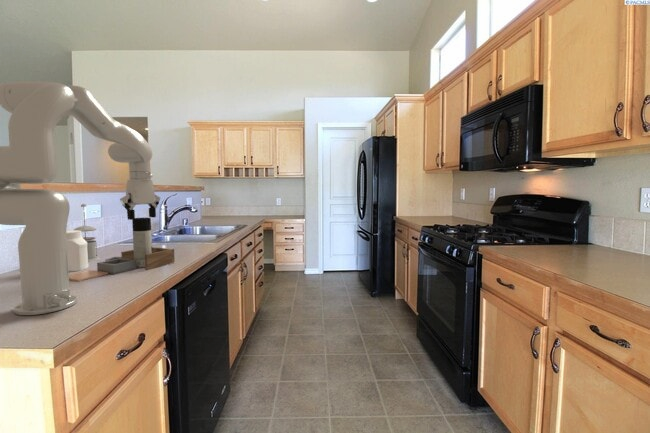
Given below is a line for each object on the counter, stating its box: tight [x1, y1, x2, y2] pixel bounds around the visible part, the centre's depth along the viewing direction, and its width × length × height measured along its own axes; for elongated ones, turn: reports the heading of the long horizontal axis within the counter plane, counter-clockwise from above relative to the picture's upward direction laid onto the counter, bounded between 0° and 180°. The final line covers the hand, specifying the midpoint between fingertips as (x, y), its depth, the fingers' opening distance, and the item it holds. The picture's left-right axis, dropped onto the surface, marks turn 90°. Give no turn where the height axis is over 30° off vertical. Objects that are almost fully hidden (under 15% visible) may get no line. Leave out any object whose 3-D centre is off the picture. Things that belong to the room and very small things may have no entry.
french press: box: [73, 203, 101, 263], centre depth 136 cm, size 10×12×25 cm
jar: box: [66, 229, 90, 273], centre depth 120 cm, size 12×10×15 cm
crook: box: [105, 256, 122, 261], centre depth 135 cm, size 14×6×1 cm, turn 88°
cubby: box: [120, 246, 175, 271], centre depth 130 cm, size 14×13×6 cm
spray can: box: [131, 217, 153, 268], centre depth 127 cm, size 7×7×20 cm
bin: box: [96, 258, 137, 275], centre depth 120 cm, size 9×9×4 cm
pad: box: [69, 269, 109, 282], centre depth 112 cm, size 10×10×1 cm
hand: (142, 218), depth 126 cm, fingers open, 9 cm apart
